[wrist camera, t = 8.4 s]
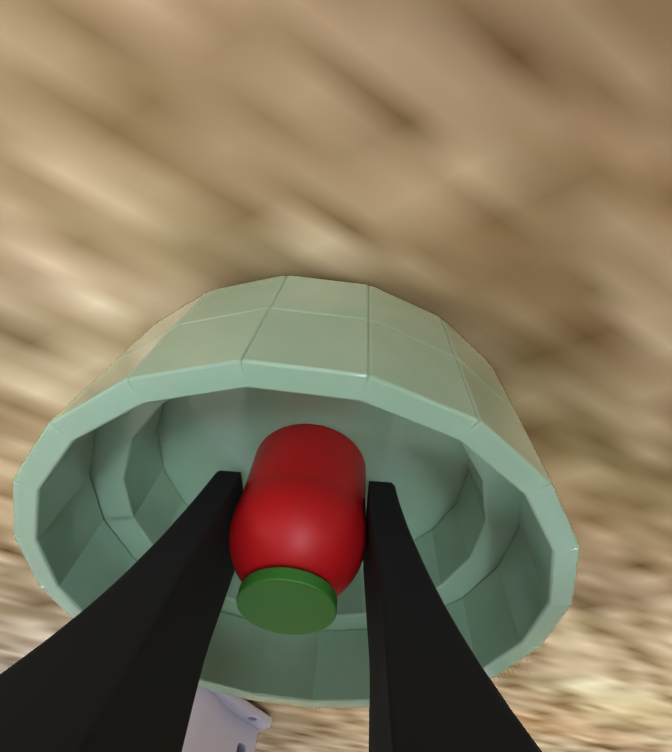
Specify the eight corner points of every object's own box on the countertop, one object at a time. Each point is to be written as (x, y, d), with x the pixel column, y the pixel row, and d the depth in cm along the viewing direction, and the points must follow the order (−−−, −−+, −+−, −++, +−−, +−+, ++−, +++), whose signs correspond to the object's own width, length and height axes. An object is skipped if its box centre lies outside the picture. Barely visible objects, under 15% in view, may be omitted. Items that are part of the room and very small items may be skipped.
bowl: (559, 515, 14) (633, 668, 10) (269, 596, 17) (241, 729, 14) (402, 168, 8) (431, 204, 5) (41, 391, 12) (-107, 511, 8)
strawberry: (387, 484, 13) (394, 632, 9) (294, 517, 14) (267, 660, 10) (329, 403, 11) (311, 541, 7) (230, 447, 12) (172, 586, 9)
